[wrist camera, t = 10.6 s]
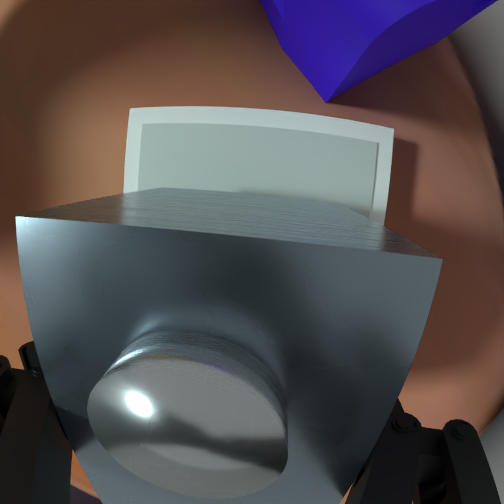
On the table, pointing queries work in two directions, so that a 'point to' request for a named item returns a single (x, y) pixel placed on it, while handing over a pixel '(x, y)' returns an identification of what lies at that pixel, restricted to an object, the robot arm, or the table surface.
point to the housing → (221, 340)
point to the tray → (261, 155)
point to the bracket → (360, 34)
